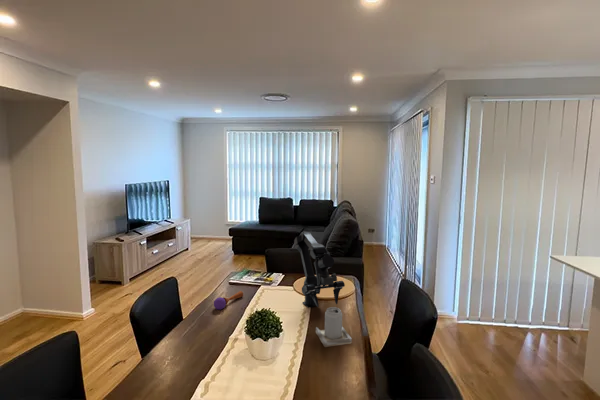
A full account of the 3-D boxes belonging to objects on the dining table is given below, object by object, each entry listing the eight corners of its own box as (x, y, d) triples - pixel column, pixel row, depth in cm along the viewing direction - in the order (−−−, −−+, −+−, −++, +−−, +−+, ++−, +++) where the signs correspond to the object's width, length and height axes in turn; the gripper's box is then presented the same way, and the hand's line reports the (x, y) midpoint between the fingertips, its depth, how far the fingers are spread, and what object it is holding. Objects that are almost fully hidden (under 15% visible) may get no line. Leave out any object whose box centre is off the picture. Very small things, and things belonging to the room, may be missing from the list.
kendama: (246, 291, 178) (221, 302, 161) (244, 301, 179) (218, 313, 161) (237, 287, 181) (212, 297, 163) (235, 296, 182) (210, 308, 164)
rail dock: (315, 332, 144) (315, 327, 144) (340, 328, 147) (340, 324, 147) (324, 347, 133) (324, 342, 133) (351, 343, 136) (351, 338, 136)
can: (343, 340, 137) (344, 313, 136) (326, 341, 136) (327, 314, 134) (339, 330, 145) (339, 305, 143) (322, 331, 143) (323, 306, 142)
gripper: (307, 270, 145) (312, 306, 140) (345, 266, 150) (352, 301, 145) (301, 274, 155) (306, 308, 150) (337, 271, 160) (343, 303, 154)
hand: (327, 305), depth 149 cm, fingers open, 9 cm apart
